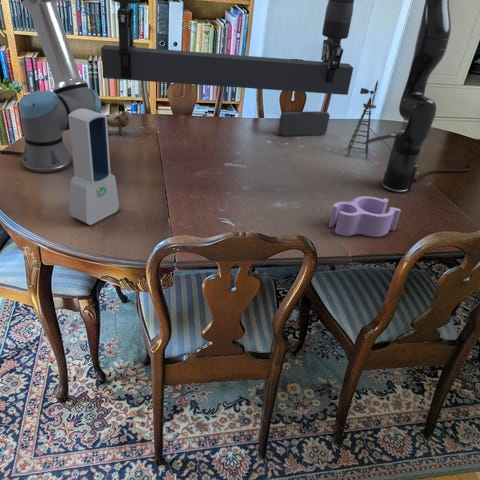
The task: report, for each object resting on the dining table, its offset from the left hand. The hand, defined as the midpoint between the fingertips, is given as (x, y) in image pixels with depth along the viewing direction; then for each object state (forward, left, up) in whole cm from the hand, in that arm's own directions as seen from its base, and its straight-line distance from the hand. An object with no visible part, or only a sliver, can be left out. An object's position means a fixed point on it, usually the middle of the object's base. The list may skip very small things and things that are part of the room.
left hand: (127, 75), depth 136 cm
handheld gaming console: (+56, +67, -34) cm, 94 cm away
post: (+29, +6, -1) cm, 30 cm away
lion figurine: (-20, +39, -34) cm, 55 cm away
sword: (+95, +77, -34) cm, 127 cm away
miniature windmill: (+79, +52, -34) cm, 101 cm away
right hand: (+58, +13, +3) cm, 60 cm away
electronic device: (-3, -24, -34) cm, 42 cm away
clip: (+75, -9, -34) cm, 83 cm away
